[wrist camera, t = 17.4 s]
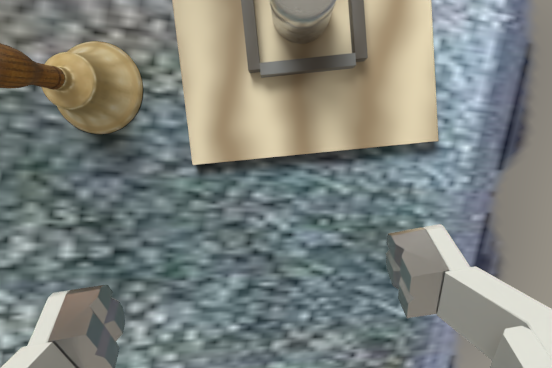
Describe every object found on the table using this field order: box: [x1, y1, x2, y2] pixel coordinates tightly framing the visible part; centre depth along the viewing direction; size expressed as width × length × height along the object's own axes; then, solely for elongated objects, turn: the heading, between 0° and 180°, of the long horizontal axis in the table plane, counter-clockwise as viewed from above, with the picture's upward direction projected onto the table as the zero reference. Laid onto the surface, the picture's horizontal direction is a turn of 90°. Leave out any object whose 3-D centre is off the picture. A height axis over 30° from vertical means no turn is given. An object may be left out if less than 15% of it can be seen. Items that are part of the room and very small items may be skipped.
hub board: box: [172, 0, 438, 165], centre depth 34 cm, size 22×24×3 cm
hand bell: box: [0, 41, 143, 134], centre depth 28 cm, size 8×8×16 cm
